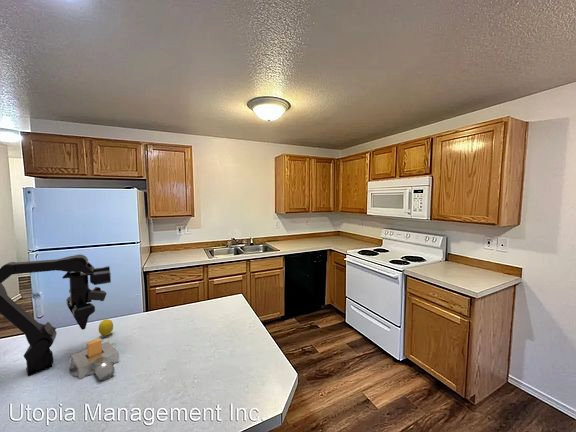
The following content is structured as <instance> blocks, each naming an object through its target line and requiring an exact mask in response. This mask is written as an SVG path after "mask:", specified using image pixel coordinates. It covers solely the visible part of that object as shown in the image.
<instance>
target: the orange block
mask: <svg viewBox="0 0 576 432" xmlns="http://www.w3.org/2000/svg"><path fill="white" fill-rule="evenodd" d="M102 344H103V343H102V339H101V337H98V338H96V339H93V340H89V341H87V342H86V350H87V355H88V359H89V358H91V357H94V356H96V355H99V354H102Z"/></svg>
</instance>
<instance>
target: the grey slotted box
mask: <svg viewBox="0 0 576 432" xmlns="http://www.w3.org/2000/svg"><path fill="white" fill-rule="evenodd" d="M101 344H102V354H99V355H96V356H94V357H91V358H89V359H88V355H87V349H84V350H81V351H79V352H76V353H72V354H71V355H70V362H71V366H70V367H69V374H70V375H71V376H72V377H74V378H78V379H79V380H80V379H82V378H84V377H89V376H90V377H91V376H93V375H96V377H97V378H98V380H100V381H107V380H109V379H110V378H111V377H112V376H113V375H114V374H115V367H114V365H115V364H117V363H119V362H120V359H119V357H120V354H119V351H118V350H117V349H116V348H115V347H114V346H113V344H111V343H110V342H109V341H105V342H102V343H101Z"/></svg>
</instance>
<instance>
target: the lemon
mask: <svg viewBox="0 0 576 432" xmlns="http://www.w3.org/2000/svg"><path fill="white" fill-rule="evenodd" d="M113 330H114V322H113V321H112V320H110V319H109V318H105V319H103V320H102V321H101V322H100V323H99V325H98V333H99V334H100V335H101V336H105V337H107V336H108V335H110V334H111V333H112V332H113Z"/></svg>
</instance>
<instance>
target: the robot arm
mask: <svg viewBox="0 0 576 432" xmlns="http://www.w3.org/2000/svg"><path fill="white" fill-rule="evenodd" d="M51 271H57V272H58V271H60V272H65V274H64V275H63V276H62V279H69V289H68V293H69V296H68V297H67V298H66V300H65V301H66V305H67V308H68V309H69V311H70V313H71V314H72V316H73V318H74V319H75V321H76V323H77V324H78V326H79V328H80V330H83V331H84V330H85V329H86V327H87V324H88V320H89V317H90V316H91V315H92V314H94V313H95V312H96V306H95V305H94V304H93V303H91V302H93V301H100V302H104V301H105V299H106V296H107V292H106V291H105V290H103V289H101V287H99V286H97V285H105V284H111V282H112V278H111V277H112V274H111V268H110V265H107V266H104V267H96V268H95V266H93V265H92V263H90V262H89V259H88V257H87V256H86V255H84V254H75V255H70V256H65V257H62V258H61V257H60V258H56V259H44V260H43V259H42V260H31V261H17V262H16V261H9V262H8V263H5V264H4V265H2V266H1V267H0V315H2V316H3V318H5V319H7V321H9V322H10V323H11V324H12V325H13V326H14V327H16V328H17V329H18V330H19V331H20V332H22V333H23V334H24V336H25V337H26V338H25V339H26V341H27V343H28V344H29V345H28V347H27V349H26V351H25V353H24V354H23V359H25V361H26V367H25V371H26V374H27V377H30V376H33V375H34V374H38V373H40V372H43V371H46V370H48V369H51V368H53V363H54V353H53V351H52V350H51V347H52V345H53V344H54V342H55V341H56V337H57V331H56V330H57V328H56V327H54V326H53V325H52V324H51V323H50V322H49V321H47V322H45V323H40V322H38V321H37V320H36V319H35V318H34V317H32V315H30V314H29V313H28V312H27V311H26V310H25V309H24V308H22V307H21V306H20V305H19V304H18V303H17V302H15V301H14V300H13V299H12V298H11V297H10V296H9V295H8V293H7V290H6V287H5V286H4V285H3V284H2V283H3V282H5V281H6V280H7V279H8V278H11V276H12V275H20V274H21V275H22V274H32V273H40V272H41V273H43V272H44V273H45V272H51ZM89 282H90V284H92V285H93V286H96V287H94V288H93V289H91V288H90V286H89V285H90V284H89Z"/></svg>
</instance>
